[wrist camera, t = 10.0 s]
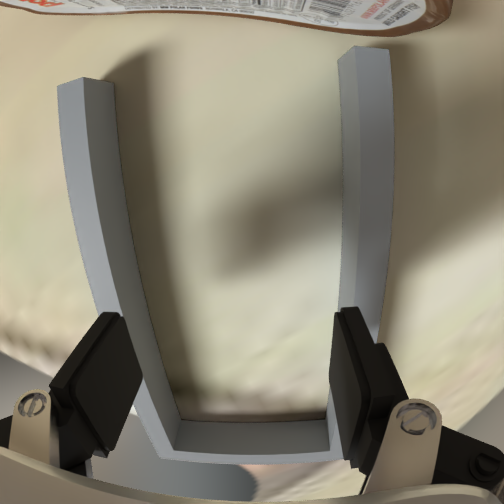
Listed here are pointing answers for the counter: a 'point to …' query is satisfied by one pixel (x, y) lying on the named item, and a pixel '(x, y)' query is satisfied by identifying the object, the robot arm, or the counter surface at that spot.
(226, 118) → the counter surface
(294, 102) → the counter surface
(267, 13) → the tin
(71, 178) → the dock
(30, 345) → the counter surface
